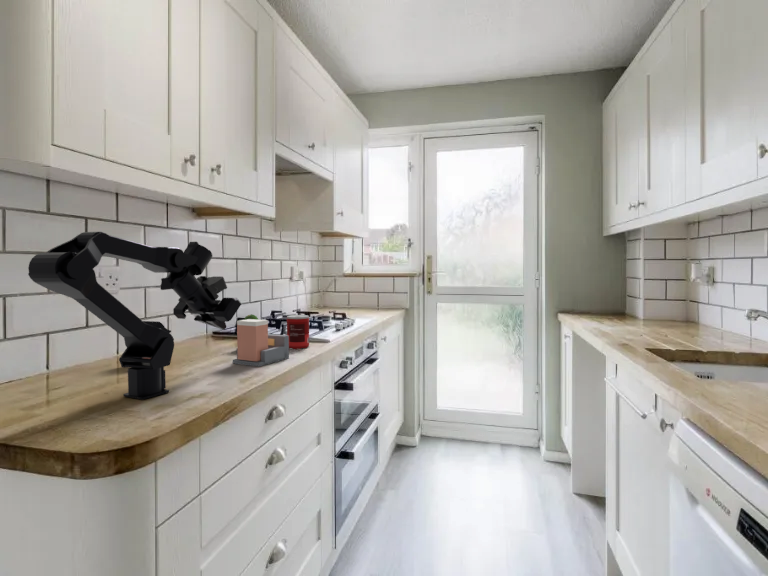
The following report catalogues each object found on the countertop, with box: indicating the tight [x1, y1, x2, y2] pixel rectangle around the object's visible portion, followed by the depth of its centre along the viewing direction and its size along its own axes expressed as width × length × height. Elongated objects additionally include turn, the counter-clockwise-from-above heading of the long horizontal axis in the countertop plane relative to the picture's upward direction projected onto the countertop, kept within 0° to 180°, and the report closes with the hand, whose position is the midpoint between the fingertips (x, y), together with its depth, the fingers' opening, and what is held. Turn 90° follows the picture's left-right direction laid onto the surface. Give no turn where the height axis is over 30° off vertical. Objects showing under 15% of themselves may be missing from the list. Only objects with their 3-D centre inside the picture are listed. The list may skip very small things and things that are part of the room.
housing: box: [232, 333, 290, 367], centre depth 129 cm, size 13×11×7 cm
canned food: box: [286, 314, 310, 350], centre depth 152 cm, size 8×8×11 cm
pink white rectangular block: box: [236, 319, 269, 361], centre depth 126 cm, size 5×7×11 cm
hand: (224, 328), depth 116 cm, fingers closed
